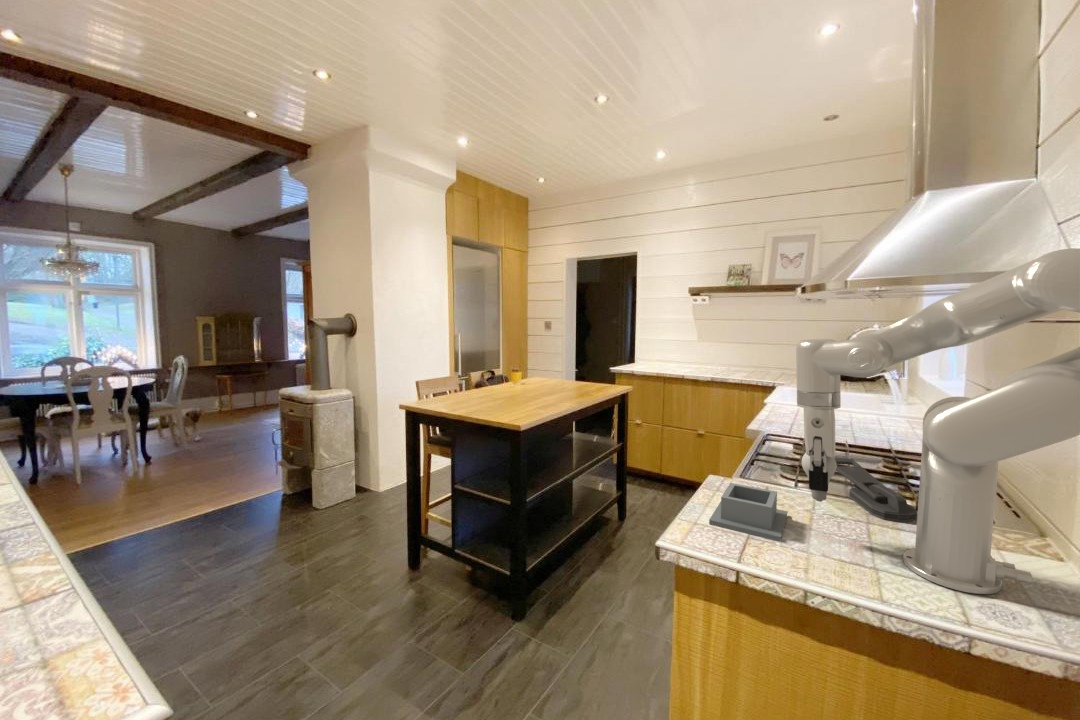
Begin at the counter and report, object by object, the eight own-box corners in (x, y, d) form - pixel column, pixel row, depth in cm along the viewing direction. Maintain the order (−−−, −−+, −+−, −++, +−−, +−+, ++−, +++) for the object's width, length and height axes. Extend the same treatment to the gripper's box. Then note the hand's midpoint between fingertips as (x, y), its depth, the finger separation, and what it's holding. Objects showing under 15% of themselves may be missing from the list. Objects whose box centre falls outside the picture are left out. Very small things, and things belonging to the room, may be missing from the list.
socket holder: (786, 515, 99) (787, 490, 98) (780, 541, 87) (781, 513, 87) (722, 501, 107) (723, 478, 106) (709, 524, 95) (709, 498, 95)
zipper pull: (853, 457, 118) (926, 494, 94) (852, 480, 119) (924, 523, 94) (819, 457, 119) (883, 493, 94) (818, 480, 120) (881, 522, 95)
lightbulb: (824, 509, 85) (823, 455, 84) (795, 499, 90) (794, 448, 90) (843, 503, 87) (843, 450, 86) (814, 493, 93) (814, 444, 92)
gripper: (840, 407, 78) (841, 503, 79) (840, 393, 92) (840, 475, 93) (793, 405, 82) (794, 496, 84) (799, 392, 96) (800, 470, 98)
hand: (819, 484), depth 88 cm, fingers closed on lightbulb, 5 cm apart
